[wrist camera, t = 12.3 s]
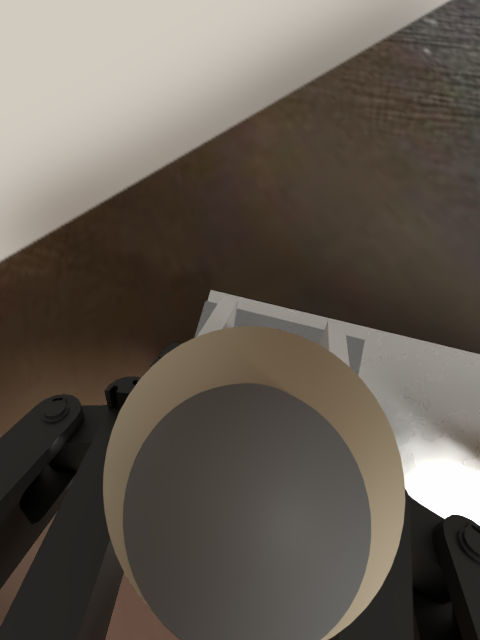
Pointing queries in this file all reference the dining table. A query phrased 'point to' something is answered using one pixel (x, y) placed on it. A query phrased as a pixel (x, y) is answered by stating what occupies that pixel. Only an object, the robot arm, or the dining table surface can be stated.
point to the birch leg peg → (253, 489)
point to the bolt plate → (404, 400)
